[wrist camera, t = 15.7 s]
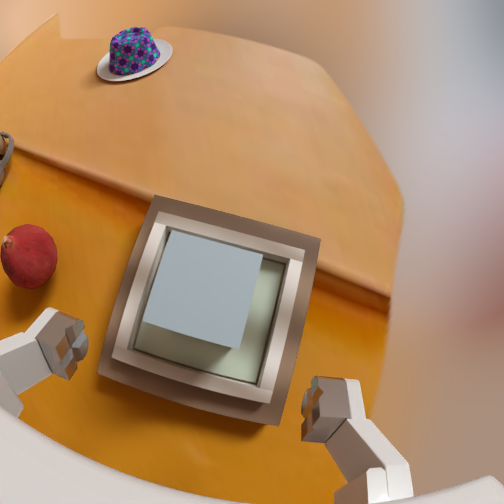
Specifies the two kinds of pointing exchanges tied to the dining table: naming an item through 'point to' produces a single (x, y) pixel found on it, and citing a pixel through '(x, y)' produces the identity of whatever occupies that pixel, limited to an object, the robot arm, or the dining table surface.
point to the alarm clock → (0, 149)
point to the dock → (204, 352)
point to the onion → (28, 256)
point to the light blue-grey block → (203, 289)
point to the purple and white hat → (133, 55)
